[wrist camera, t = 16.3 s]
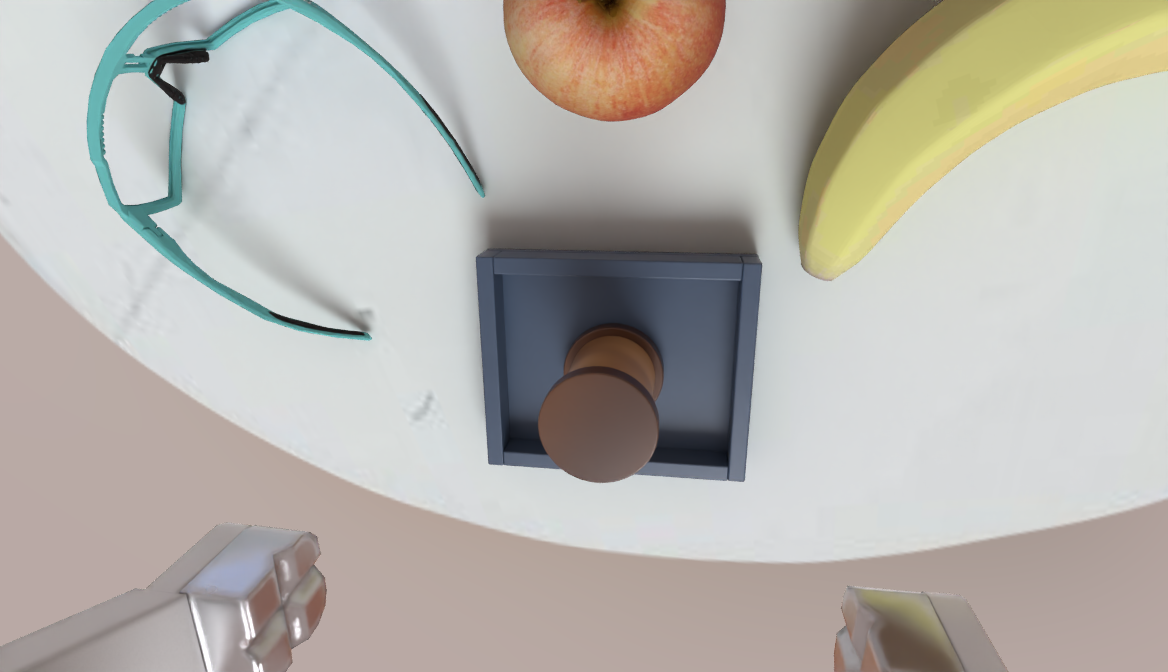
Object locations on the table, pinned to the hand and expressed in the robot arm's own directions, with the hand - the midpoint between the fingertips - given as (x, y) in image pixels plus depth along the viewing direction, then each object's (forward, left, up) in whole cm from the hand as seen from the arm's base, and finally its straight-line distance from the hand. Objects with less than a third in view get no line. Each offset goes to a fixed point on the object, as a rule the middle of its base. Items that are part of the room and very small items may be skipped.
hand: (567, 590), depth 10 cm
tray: (-1, -4, -22) cm, 22 cm away
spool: (-1, -5, -21) cm, 22 cm away
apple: (-1, +11, -22) cm, 24 cm away
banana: (+17, +7, -22) cm, 28 cm away
